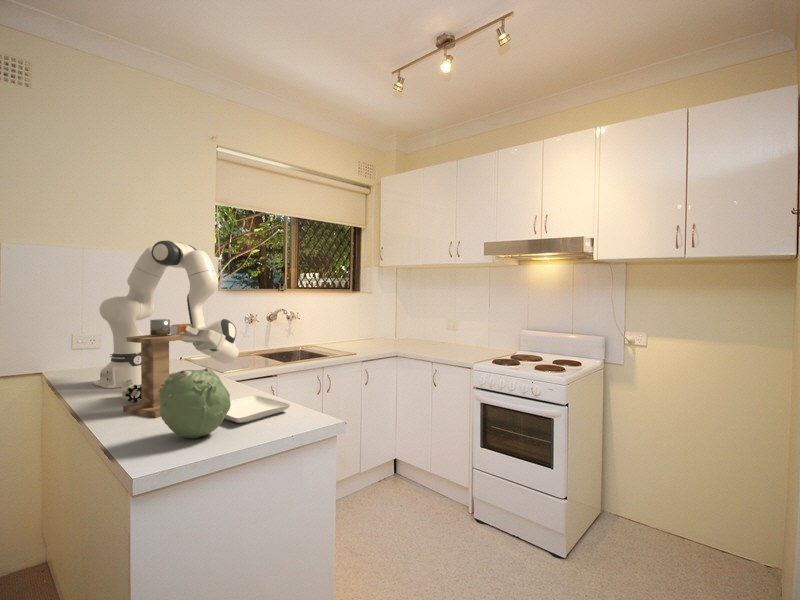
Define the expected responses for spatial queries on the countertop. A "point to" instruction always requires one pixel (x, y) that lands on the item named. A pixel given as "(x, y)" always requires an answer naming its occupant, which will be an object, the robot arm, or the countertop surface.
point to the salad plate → (254, 408)
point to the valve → (130, 391)
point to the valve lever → (165, 327)
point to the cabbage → (193, 402)
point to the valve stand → (152, 372)
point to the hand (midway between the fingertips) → (180, 327)
